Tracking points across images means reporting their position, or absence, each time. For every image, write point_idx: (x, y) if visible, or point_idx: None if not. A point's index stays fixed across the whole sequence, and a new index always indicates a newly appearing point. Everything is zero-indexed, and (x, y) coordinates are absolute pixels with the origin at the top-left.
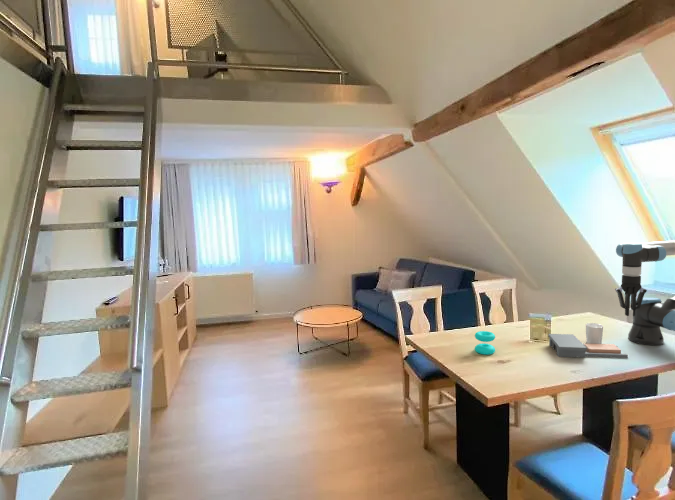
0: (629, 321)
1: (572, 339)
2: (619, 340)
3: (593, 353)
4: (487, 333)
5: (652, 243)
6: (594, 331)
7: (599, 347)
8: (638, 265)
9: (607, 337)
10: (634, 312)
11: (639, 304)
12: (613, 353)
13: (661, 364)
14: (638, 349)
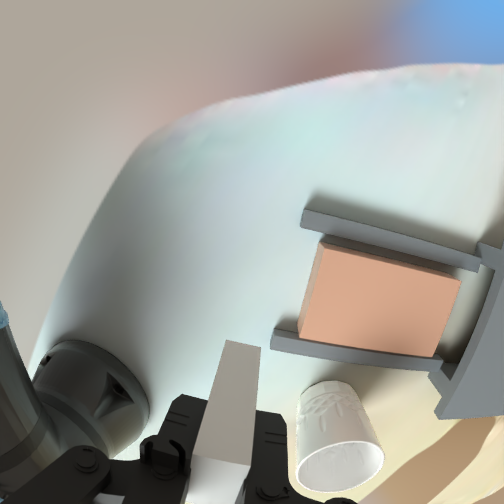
0: (256, 356)
1: (493, 351)
2: None
3: (450, 252)
4: None
5: None
6: (364, 426)
7: (406, 297)
8: None
9: None
10: (169, 427)
11: (48, 495)
12: (365, 241)
13: (197, 110)
14: (173, 313)
